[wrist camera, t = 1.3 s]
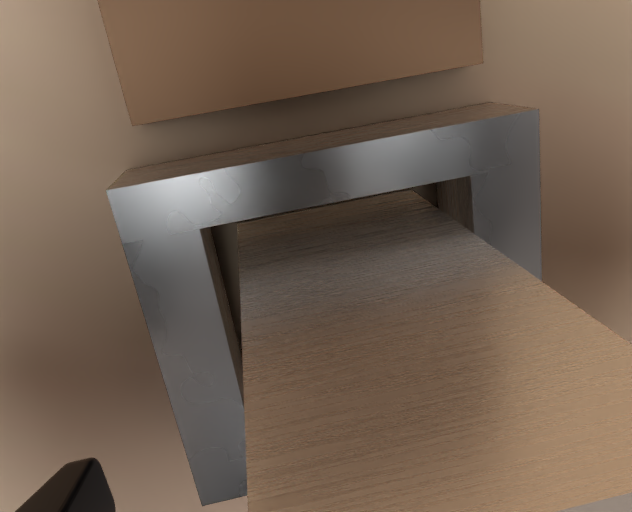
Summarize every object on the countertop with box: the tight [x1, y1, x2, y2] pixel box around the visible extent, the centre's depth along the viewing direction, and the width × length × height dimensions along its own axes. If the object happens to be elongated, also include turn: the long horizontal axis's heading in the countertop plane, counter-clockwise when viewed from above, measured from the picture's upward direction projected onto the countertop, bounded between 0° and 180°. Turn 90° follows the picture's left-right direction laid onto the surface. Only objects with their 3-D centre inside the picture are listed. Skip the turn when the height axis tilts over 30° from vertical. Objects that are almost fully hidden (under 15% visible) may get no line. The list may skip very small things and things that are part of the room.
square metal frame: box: [106, 102, 542, 506], centre depth 12 cm, size 7×8×2 cm
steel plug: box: [238, 189, 632, 512], centre depth 9 cm, size 4×4×9 cm
